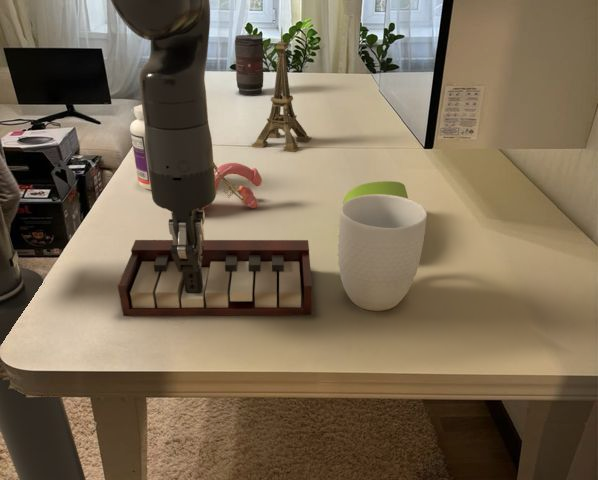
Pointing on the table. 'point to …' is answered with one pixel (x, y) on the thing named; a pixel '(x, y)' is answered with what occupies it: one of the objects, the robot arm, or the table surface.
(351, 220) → the mug
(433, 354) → the table surface
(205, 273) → the key
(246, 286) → the key
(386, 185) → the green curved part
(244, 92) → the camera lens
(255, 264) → the piano
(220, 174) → the anatomy model
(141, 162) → the pill bottle
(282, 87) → the eiffel tower
